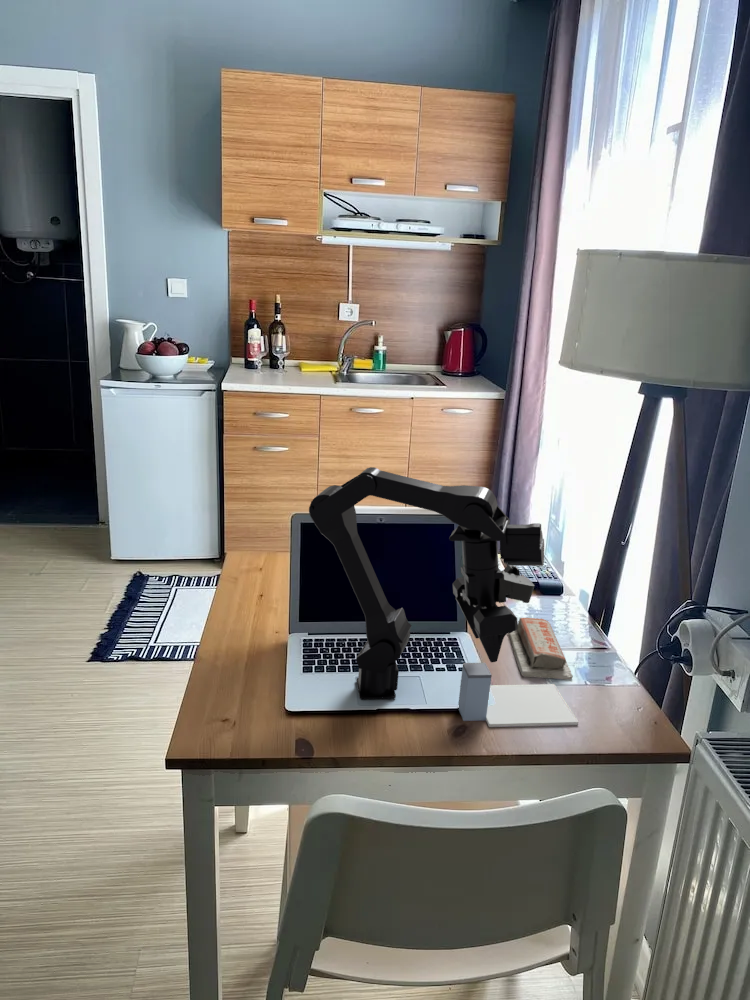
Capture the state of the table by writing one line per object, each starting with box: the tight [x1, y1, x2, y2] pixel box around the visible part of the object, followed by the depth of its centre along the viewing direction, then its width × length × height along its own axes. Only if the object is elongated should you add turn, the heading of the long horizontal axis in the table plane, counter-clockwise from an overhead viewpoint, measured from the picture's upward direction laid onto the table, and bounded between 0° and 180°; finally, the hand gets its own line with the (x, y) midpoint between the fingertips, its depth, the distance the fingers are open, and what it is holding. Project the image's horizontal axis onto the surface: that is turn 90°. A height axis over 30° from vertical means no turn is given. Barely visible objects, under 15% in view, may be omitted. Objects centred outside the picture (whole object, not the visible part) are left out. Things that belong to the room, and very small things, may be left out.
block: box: [457, 662, 492, 722], centre depth 133 cm, size 4×4×9 cm
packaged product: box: [508, 617, 574, 681], centre depth 155 cm, size 18×5×10 cm
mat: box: [485, 683, 579, 728], centre depth 137 cm, size 16×12×1 cm
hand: (485, 649), depth 131 cm, fingers open, 9 cm apart
